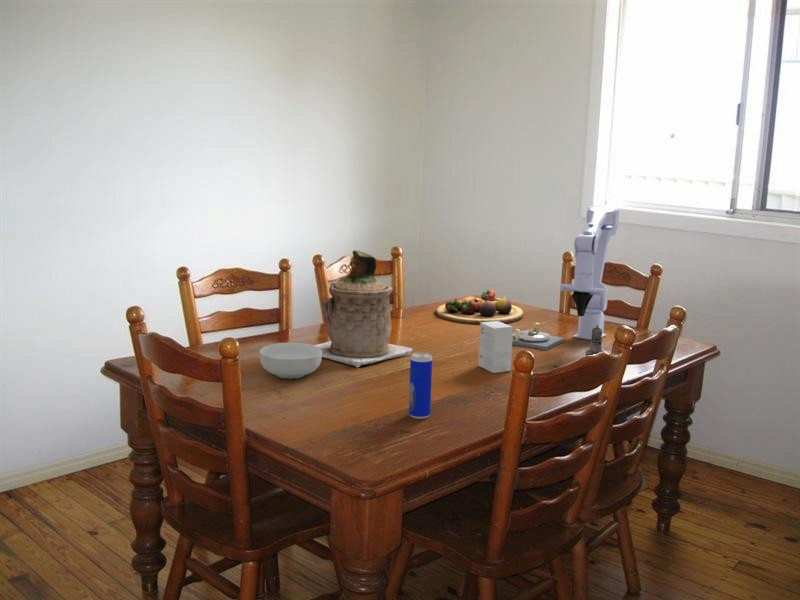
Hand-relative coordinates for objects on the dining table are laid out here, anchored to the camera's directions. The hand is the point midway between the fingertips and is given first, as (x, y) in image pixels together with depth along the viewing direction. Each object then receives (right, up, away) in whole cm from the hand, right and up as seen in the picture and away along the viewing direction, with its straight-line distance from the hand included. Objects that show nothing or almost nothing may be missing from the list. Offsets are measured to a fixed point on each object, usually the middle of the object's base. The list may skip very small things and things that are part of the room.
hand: (581, 315), depth 266 cm
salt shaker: (+1, -14, -16) cm, 22 cm away
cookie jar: (-70, -11, -11) cm, 71 cm away
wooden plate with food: (-28, -1, +45) cm, 53 cm away
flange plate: (-15, -7, +7) cm, 18 cm away
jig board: (-14, -9, +8) cm, 18 cm away
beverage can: (-52, -23, -64) cm, 86 cm away
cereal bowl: (-87, -16, -34) cm, 95 cm away
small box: (-30, -15, -23) cm, 41 cm away
